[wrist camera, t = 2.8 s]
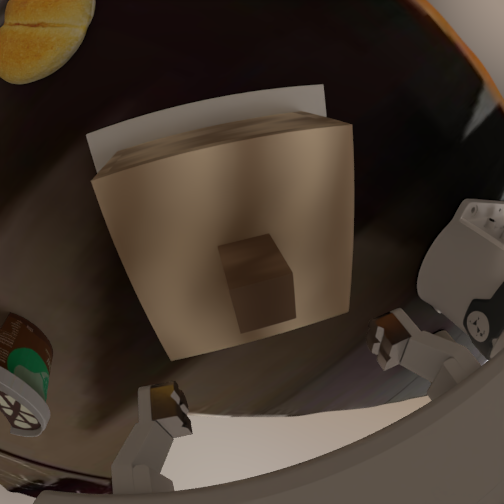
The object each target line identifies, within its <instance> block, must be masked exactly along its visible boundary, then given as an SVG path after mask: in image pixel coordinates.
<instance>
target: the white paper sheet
mask: <svg viewBox="0 0 504 504" xmlns="http://www.w3.org/2000/svg"><path fill="white" fill-rule="evenodd" d="M299 111H304V112H308V113H312V114H316V115H320V116H324V117H326V106H325V96H324V87H323V85H321V84H320V85H306V86H294V87H284V88H275V89H267V90H259V91H252V92H246V93H239V94H233V95H228V96H222V97H217V98H212V99H207V100H202V101H197V102H193V103H188V104H184V105H180V106H176V107H172V108H168V109H164V110H160V111H157V112H153V113H149V114H146V115H142V116H139V117H136V118H132V119H129V120H126V121H123V122H120V123H117V124H114V125H111V126H108V127H105V128H102V129H99V130H97V131H94V132H91V133H88V134H86V137H87V141H88V144H89V148H90V151H91V155H92V158H93V161H94V164H95V168H96V171H97V173H98V172H99V171H100V170H101V169H102V168H103V167H104V165H105V164H106V163H107V162H108V161H109V160H110V159H111V158H112V157H113V155H114V154H115V153H116V152H117V151H120V150H123V149H126V148H129V147H133V146H136V145H139V144H143V143H146V142H150V141H153V140H157V139H160V138H164V137H168V136H172V135H176V134H180V133H184V132H188V131H192V130H196V129H201V128H205V127H210V126H214V125H219V124H224V123H229V122H234V121H240V120H245V119H251V118H257V117H263V116H270V115H277V114H284V113H291V112H299Z"/></svg>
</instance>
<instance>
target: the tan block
mask: <svg viewBox="0 0 504 504" xmlns="http://www.w3.org/2000/svg"><path fill="white" fill-rule="evenodd" d="M91 183H92V185H93V188H94V191H95V194H96V197H97V200H98V203H99V206H100V208H101V211H102V214H103V216H104V219H105V222H106V224H107V227H108V229H109V232H110V234H111V237H112V239H113V242H114V244H115V247H116V249H117V252H118V254H119V256H120V259H121V261H122V263H123V266H124V268H125V270H126V272H127V275H128V277H129V279H130V281H131V283H132V286H133V288H134V290H135V292H136V294H137V296H138V298H139V300H140V303H141V305H142V307H143V309H144V311H145V313H146V315H147V317H148V319H149V321H150V323H151V325H152V326H153V328H154V330H155V332H156V334H157V336H158V338H159V340H160V342H161V343H162V345H163V347H164V349H165V351H166V353H167V354H168V356H169V358H170V360H171V361H173V360H177V359H182V358H187V357H191V356H196V355H200V354H204V353H209V352H213V351H217V350H221V349H225V348H229V347H233V346H237V345H241V344H244V343H248V342H252V341H255V340H259V339H263V338H266V337H270V336H273V335H277V334H280V333H284V332H287V331H290V330H294V329H297V328H300V327H303V326H307V325H310V324H313V323H316V322H319V321H322V320H325V319H328V318H331V317H334V316H337V315H340V314H343V313H346V312H349V302H350V289H351V275H352V258H353V235H354V154H353V131H352V124H349V123H345V122H342V121H338V120H335V119H331V118H327V117H324V116H320V115H316V114H312V113H308V112H304V111H299V112H291V113H284V114H277V115H270V116H263V117H257V118H251V119H245V120H240V121H234V122H229V123H224V124H219V125H214V126H210V127H205V128H201V129H196V130H192V131H188V132H184V133H180V134H176V135H172V136H168V137H164V138H160V139H157V140H153V141H150V142H146V143H143V144H139V145H136V146H133V147H129V148H126V149H123V150H120V151H117V152H116V153H115V154H114V155H113V157H112V158H111V159H110V160H109V161H108V162H107V163H106V164H105V165H104V167H103V168H102V169H101V170H100V171H99V172H98V173H97V175H96V176H95V177H94V178H93V179H92V180H91Z"/></svg>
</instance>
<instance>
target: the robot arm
mask: <svg viewBox="0 0 504 504" xmlns="http://www.w3.org/2000/svg"><path fill="white" fill-rule="evenodd" d="M417 291H418V295H419V297H420V298H421V299H422V300H423V301H425V302H427V303H429V304H430V305H432V306H433V308H434V309H435V310H436V311H437V312H438V313H443V314H444V315H445V316H446V317H447V318H449V319H450V320H451V321H452V322H453V323H454V324H456V325H457V326H458V327H459V328H460V329H461V330H462V331H464V332H465V333H466V334H467V335H469V337H470V338H471V340H472V343H473V344H474V345H475V346H476V348H477V349H478V350H479V352H480V353H481V354H482V355H484V357H485V358H486V359H487V360H488V361H487V362H486V363H485V364H483V365H482V366H481V365H480V363H479V362H478V361H477V360H476V359H475V357H474V356H473V355H472V354H471V353H470V351H469V350H468V349H467V348H466V347H465V346H462V345H460V344H457V343H454V342H452V341H449V340H447V339H444V338H441V337H439V336H436V335H434V334H431V333H429V332H426V331H422V332H421V331H420V330H419V328H418V327H417V326H416V325H415V324H414V322H413V321H412V320H411V319H410V318H409V317H408V315H407V314H406V313H405V312H404V311H403V310H402V309H401V308H397V309H395V310H393V311H391V312H387V313H385V314H383V315H381V316H378V317H376V318H374V319H371V320H370V321H369V323H368V327H369V328H370V329H369V331H368V332H367V334H366V341H367V345H368V347H369V349H370V351H371V352H372V353H374V354H376V355H377V361H378V363H379V364H380V366H381V367H382V369H383V370H384V371H385V370H387V369H389V368H391V367H394V366H396V365H398V364H400V365H402V366H403V367H405V368H407V369H409V370H411V371H412V372H414V373H416V374H418V375H420V376H421V377H423V378H425V379H427V380H429V381H430V382H432V384H431V385H430V387H429V389H428V391H427V394H428V396H429V397H430V399H431V400H432V401H431V402H429V403H428V404H426V405H424V406H423V407H421V408H419V409H418V410H416V411H414V412H413V413H411V414H409V415H408V416H405V417H404V418H402V419H400V420H398V421H397V422H394V423H393V424H391V425H389V426H387V427H385V428H383V429H381V430H379V431H377V432H375V433H373V434H371V435H369V436H367V437H365V438H363V439H360V440H358V441H356V442H353V443H351V444H349V445H346V446H344V447H342V448H339V449H337V450H334V451H332V452H329V453H327V454H324V455H322V456H319V457H316V458H314V459H311V460H308V461H305V462H302V463H299V464H296V465H293V466H290V467H287V468H283V469H280V470H277V471H273V472H270V473H266V474H263V475H259V476H255V477H251V478H247V479H243V480H238V481H233V482H229V483H224V484H219V485H213V486H208V487H202V488H195V489H188V490H180V491H174V487H173V482H172V481H171V480H170V479H168V478H166V477H165V476H163V475H161V474H160V472H161V469H162V467H163V464H164V462H165V459H166V457H167V454H168V452H169V449H170V447H171V444H172V442H173V438H176V437H181V436H186V435H191V434H193V433H192V428H191V421H190V419H189V418H188V417H187V413H188V411H189V409H188V404H187V401H186V397H185V395H184V393H183V392H182V390H179V388H178V384H177V383H176V381H171V382H166V383H161V384H155V385H149V386H144V387H139V390H138V410H139V423H136V424H135V426H134V428H133V429H132V431H131V433H130V434H129V436H128V438H127V440H126V441H125V443H124V445H123V447H122V448H121V450H120V452H119V454H118V455H117V457H116V459H115V461H114V462H113V464H112V483H113V495H107V494H81V493H68V492H58V491H42V492H41V493H40V494H39V496H38V497H37V498H36V500H35V501H34V503H33V504H504V201H493V200H481V199H465V200H463V201H462V203H461V204H460V206H459V208H458V209H457V211H456V213H455V215H454V217H453V219H452V220H451V221H450V223H449V224H448V225H447V226H446V227H445V228H444V229H443V230H442V232H441V233H440V234H439V235H438V236H437V238H436V239H435V241H434V242H433V244H432V245H431V247H430V248H429V250H428V252H427V254H426V256H425V258H424V260H423V263H422V265H421V268H420V271H419V275H418V280H417Z"/></svg>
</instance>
